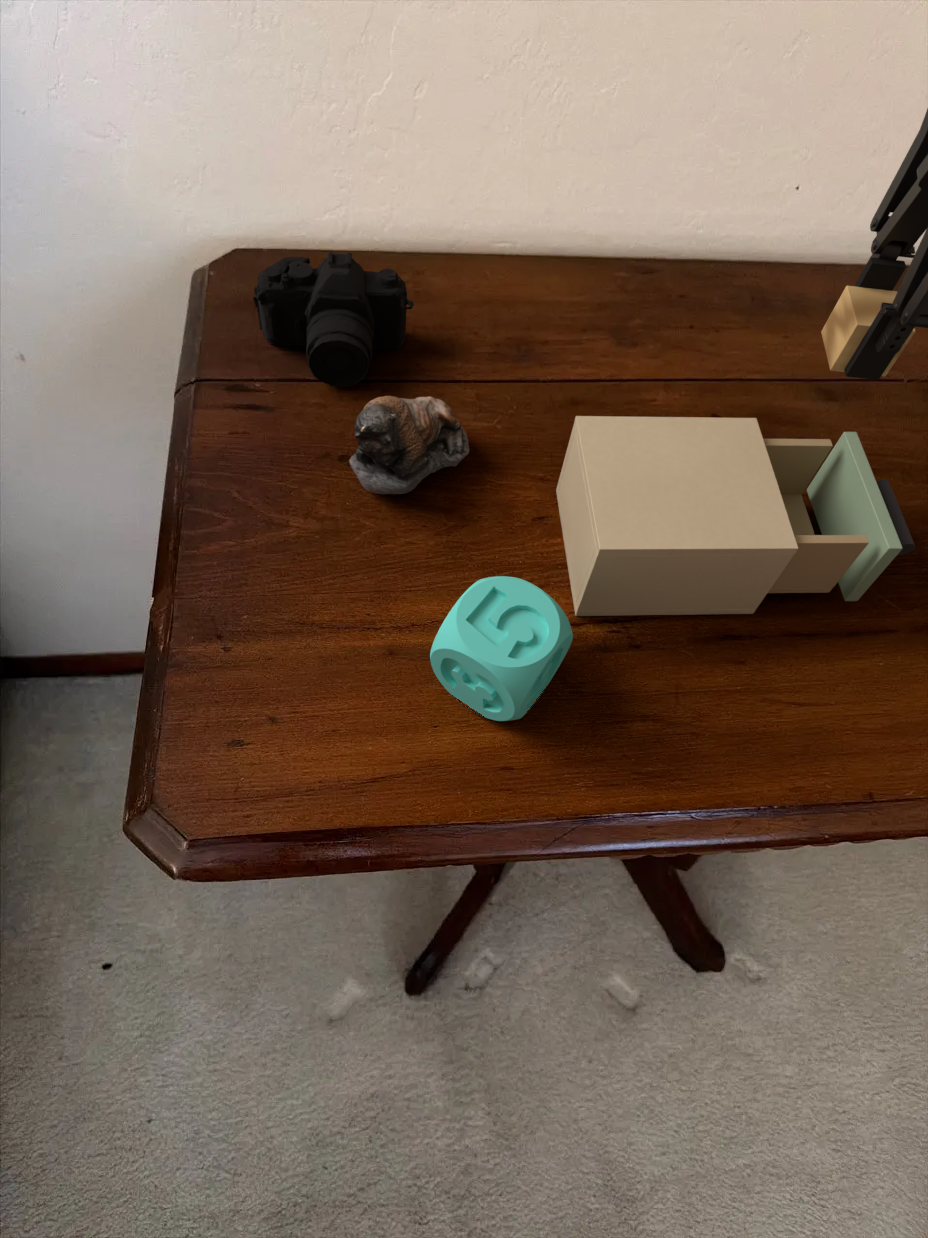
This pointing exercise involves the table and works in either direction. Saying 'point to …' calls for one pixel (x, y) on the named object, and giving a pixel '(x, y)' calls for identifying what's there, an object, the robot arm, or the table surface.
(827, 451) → the drawer
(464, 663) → the decorative dice
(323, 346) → the film camera
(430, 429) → the bison figurine
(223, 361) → the table surface
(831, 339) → the block
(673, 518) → the cabinet
